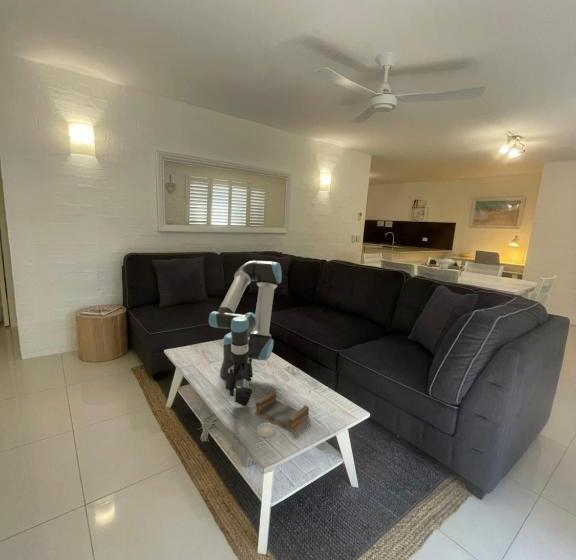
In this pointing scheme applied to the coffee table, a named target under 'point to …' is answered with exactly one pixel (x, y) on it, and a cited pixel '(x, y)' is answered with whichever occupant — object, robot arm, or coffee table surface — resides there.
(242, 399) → the mineral
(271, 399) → the rest
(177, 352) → the coffee table surface
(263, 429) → the cream glossy rounded part
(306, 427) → the coffee table surface
